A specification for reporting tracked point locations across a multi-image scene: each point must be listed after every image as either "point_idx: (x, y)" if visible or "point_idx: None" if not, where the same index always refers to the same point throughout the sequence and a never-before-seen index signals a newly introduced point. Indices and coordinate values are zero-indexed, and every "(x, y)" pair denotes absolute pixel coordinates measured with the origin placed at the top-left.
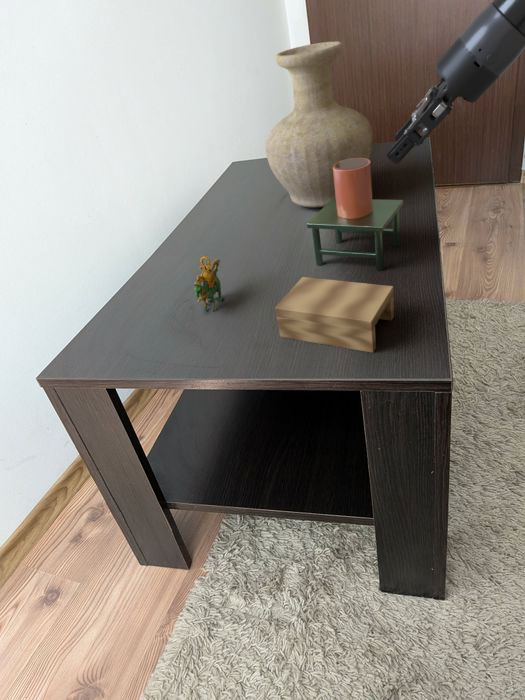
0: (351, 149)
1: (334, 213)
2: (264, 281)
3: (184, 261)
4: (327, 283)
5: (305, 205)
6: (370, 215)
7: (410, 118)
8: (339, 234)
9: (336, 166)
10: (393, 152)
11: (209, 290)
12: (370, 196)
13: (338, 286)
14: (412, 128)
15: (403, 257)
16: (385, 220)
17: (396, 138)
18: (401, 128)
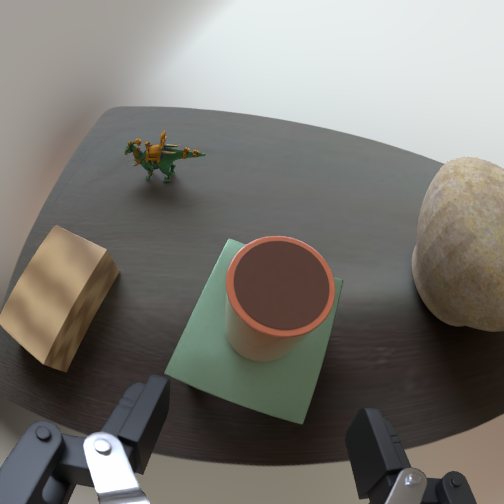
0: (477, 292)
1: None
2: (198, 219)
3: (274, 140)
4: (77, 281)
5: (412, 255)
6: (232, 356)
7: (392, 469)
8: None
9: (272, 243)
10: (126, 392)
11: (143, 160)
12: (249, 351)
13: (64, 294)
14: (20, 442)
15: (227, 417)
16: (196, 384)
17: (361, 414)
18: (379, 432)
